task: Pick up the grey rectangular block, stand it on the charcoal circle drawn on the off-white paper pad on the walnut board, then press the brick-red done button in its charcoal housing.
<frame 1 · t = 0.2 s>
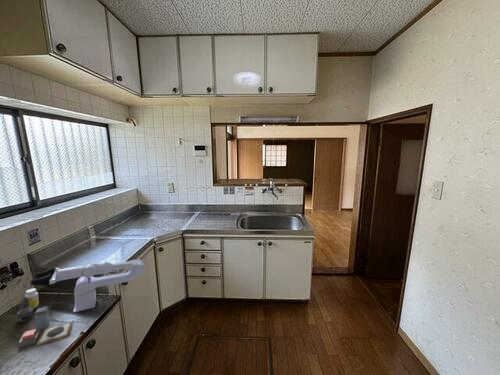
hand: (33, 279, 108), 21 cm above the countertop, tool horizontal, fingers open, 7 cm apart
supplement bottle: (32, 307, 119), on the countertop
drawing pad: (55, 333, 101), on the countertop
grey rectangular block: (42, 326, 106), on the countertop
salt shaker: (25, 318, 111), on the countertop
done button: (29, 334, 97), point 3 cm above the countertop, slide at 0.0 cm
button housing: (30, 340, 97), on the countertop
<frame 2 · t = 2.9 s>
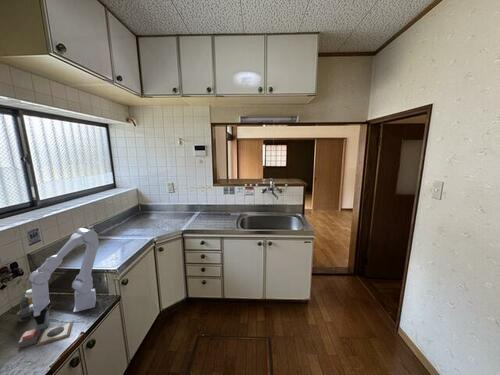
hand: (42, 320, 105), 3 cm above the countertop, tool pointing down, fingers closed on grey rectangular block, 4 cm apart
grey rectangular block: (42, 326, 106), on the countertop, touching gripper
everything else where it was.
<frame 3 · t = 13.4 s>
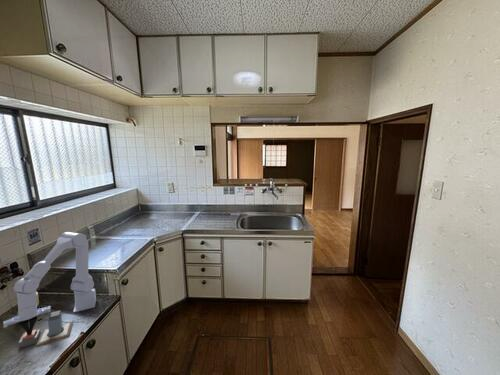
hand: (29, 333, 97), 4 cm above the countertop, tool pointing down, fingers closed, pressing on done button
grey rectangular block: (55, 331, 101), point 1 cm above the countertop, touching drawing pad
done button: (29, 335, 97), point 3 cm above the countertop, slide at 0.3 cm, touching gripper
everything else where it was.
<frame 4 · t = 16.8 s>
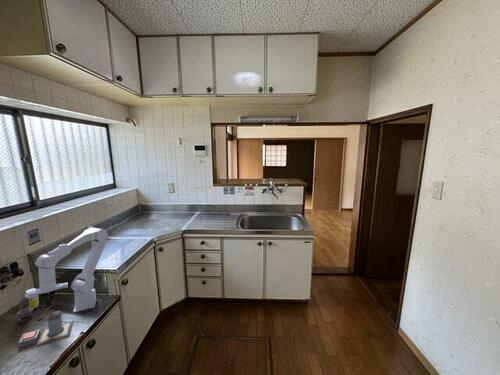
hand: (49, 305, 105), 10 cm above the countertop, tool pointing down, fingers closed
done button: (29, 336, 97), point 2 cm above the countertop, slide at 1.0 cm, touching button housing
everything else where it was.
at the end: grey rectangular block 0.0 cm off-centre on the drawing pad, point 1.1 cm above the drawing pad's base; grey rectangular block tilted 0°; done button slide at 1.0 cm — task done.
